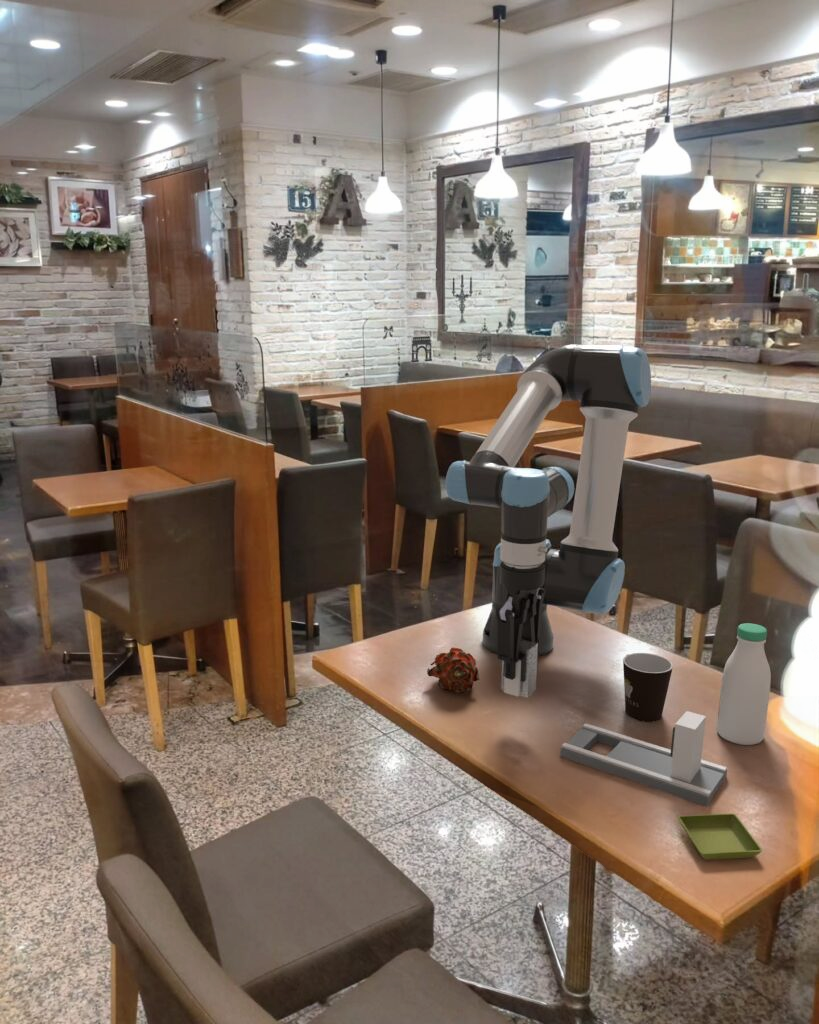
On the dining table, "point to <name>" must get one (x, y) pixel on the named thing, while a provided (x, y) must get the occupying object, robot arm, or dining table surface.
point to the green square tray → (720, 836)
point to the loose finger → (525, 668)
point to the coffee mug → (646, 685)
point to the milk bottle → (745, 688)
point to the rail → (654, 759)
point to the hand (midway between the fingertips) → (517, 688)
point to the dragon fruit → (455, 670)
